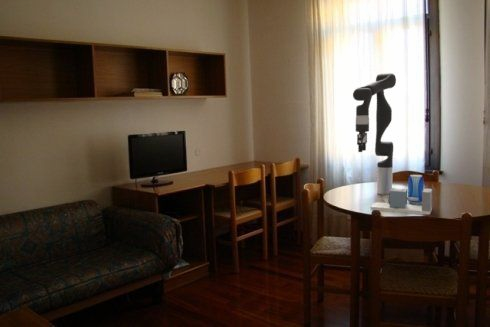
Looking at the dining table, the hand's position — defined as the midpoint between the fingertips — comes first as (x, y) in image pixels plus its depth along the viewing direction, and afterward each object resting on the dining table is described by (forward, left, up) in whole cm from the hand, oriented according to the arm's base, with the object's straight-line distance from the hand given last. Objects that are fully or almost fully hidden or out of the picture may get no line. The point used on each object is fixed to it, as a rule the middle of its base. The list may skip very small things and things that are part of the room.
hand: (362, 151), depth 264 cm
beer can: (-8, +29, -30) cm, 43 cm away
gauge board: (+11, +24, -30) cm, 40 cm away
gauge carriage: (+12, +25, -28) cm, 40 cm away
